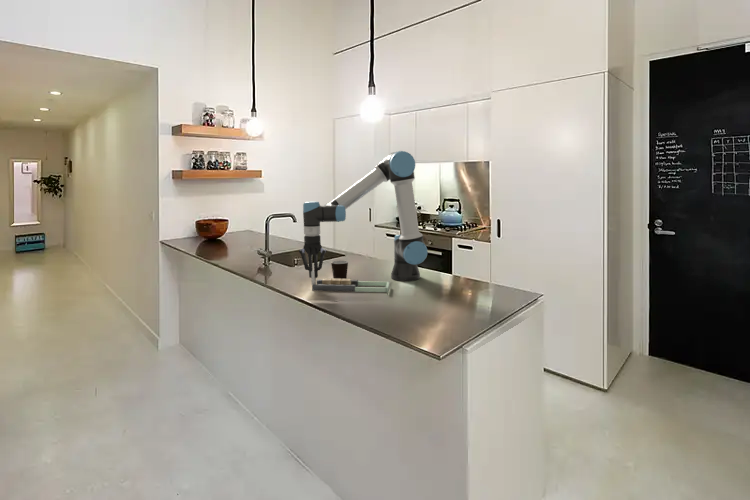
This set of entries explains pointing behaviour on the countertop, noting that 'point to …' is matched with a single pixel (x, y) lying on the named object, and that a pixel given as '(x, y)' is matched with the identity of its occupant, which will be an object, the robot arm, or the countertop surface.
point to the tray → (372, 289)
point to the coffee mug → (339, 269)
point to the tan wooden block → (336, 281)
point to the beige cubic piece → (346, 282)
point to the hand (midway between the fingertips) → (313, 284)
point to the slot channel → (334, 286)
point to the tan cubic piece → (327, 281)
